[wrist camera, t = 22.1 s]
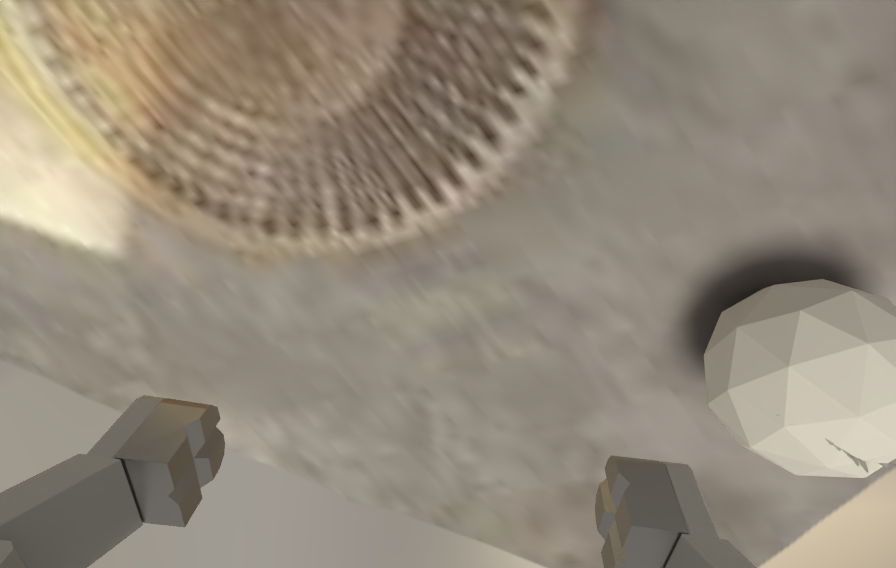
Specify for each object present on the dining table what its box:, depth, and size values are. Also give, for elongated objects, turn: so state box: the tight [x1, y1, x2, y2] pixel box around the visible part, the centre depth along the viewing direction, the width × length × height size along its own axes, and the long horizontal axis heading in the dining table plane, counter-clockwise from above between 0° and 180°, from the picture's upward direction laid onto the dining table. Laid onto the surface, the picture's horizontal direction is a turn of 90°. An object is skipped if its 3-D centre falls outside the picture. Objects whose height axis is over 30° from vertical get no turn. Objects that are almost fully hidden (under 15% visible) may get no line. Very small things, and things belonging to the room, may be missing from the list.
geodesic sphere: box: [704, 279, 896, 478], centre depth 36 cm, size 14×14×14 cm
